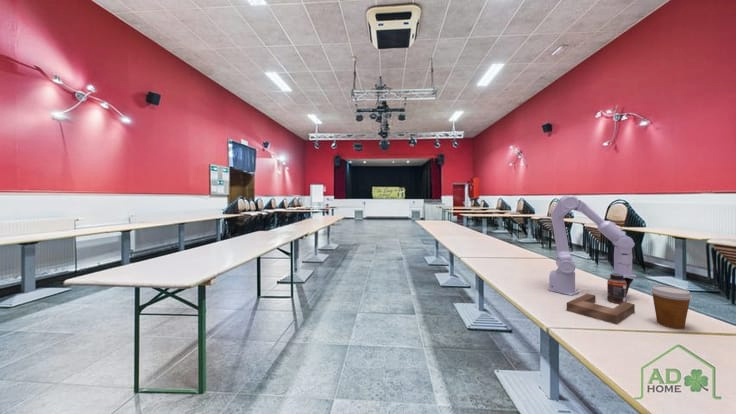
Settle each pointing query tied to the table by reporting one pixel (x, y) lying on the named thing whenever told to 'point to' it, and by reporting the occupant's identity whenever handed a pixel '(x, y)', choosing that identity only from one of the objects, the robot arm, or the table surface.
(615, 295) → the supplement bottle
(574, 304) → the brown u-shaped wooden block
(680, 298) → the disposable coffee cup
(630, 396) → the table surface
